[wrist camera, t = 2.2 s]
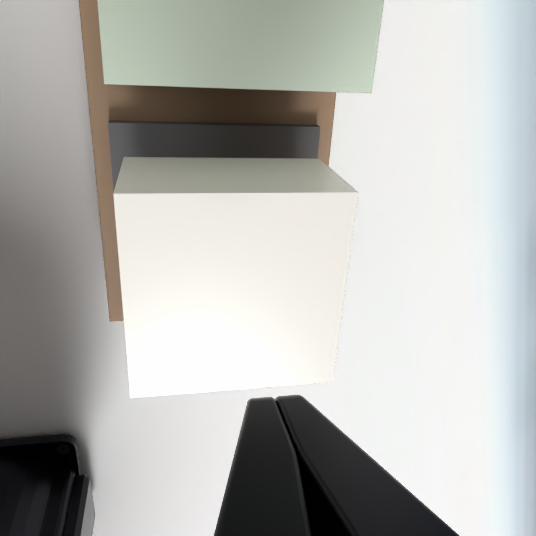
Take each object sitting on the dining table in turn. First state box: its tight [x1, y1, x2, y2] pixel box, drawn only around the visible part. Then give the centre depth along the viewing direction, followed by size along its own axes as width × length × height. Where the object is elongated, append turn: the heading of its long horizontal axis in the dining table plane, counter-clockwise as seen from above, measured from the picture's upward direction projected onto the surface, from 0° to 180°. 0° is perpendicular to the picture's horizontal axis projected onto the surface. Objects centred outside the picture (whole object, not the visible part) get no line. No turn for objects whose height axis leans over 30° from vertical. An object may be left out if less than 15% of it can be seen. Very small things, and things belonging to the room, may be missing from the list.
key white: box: [113, 157, 358, 398], centre depth 13 cm, size 5×5×3 cm
